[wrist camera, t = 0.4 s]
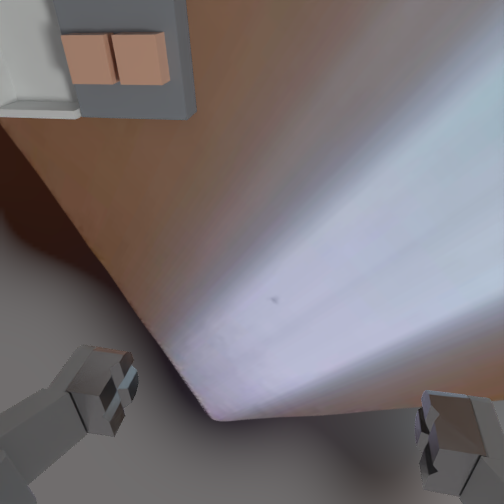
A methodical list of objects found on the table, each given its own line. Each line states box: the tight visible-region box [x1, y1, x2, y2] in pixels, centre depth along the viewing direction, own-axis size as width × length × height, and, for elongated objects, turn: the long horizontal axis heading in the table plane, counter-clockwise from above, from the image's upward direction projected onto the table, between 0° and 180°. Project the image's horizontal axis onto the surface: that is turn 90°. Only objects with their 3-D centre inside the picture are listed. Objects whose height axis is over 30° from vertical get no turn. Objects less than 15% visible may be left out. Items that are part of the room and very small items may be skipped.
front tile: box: [111, 32, 170, 85], centre depth 45 cm, size 5×5×2 cm
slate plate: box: [53, 0, 197, 120], centre depth 49 cm, size 14×14×4 cm
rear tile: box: [60, 32, 120, 85], centre depth 46 cm, size 5×5×2 cm
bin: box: [0, 0, 82, 119], centre depth 50 cm, size 14×12×5 cm
